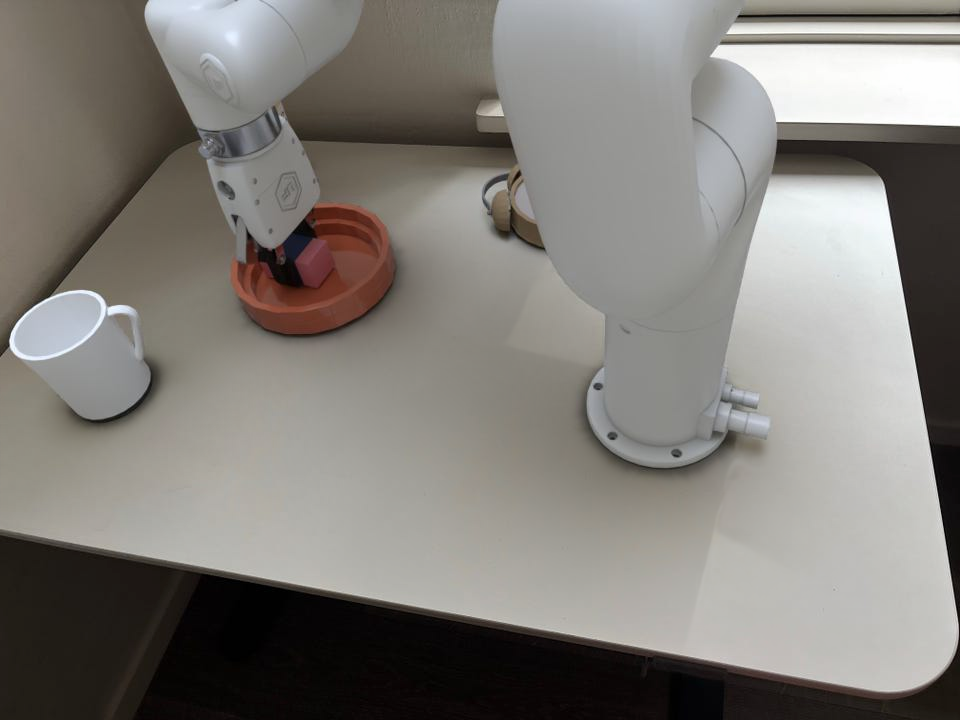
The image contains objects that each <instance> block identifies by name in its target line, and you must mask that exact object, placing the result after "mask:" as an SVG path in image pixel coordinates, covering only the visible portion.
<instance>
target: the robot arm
mask: <svg viewBox="0 0 960 720" xmlns="http://www.w3.org/2000/svg"><path fill="white" fill-rule="evenodd" d="M746 2H747V0H498V2H497V6H496V9H495V14H494V19H493V26H492V34H491V35H492V36H491V61H492V71H493V77H494V82H495V87H496V91H497V96H498V99H499V102H500V106H501V111H502V114H503V117H504V120H505V123H506V128H507V131H508V134H509V137H510V141H511V144H512V147H513V150H514V154H515V157H516V160H517V164H519V167H520V171H521V174H522V177H523V181H524V184H525V187H526V191H527V194H528V197H529V201H530V204H531V207H532V211H533V214H534V217H535V220H536V224H537V227H538V230H539V233H540V236H541V239H542V242H543V244H544V247H543V248H544V249H545V251H546V254H547V256H548V259H549V261H550V262H551V264H552V266H553V267H554V270H555V271H556V272H557V274H558V276H559V277H560V279H562V281H563V282H564V283H565V285H566V286H567V288H569V290H570V291H571V292H572V293H573V294H575V296H576V297H578V298H579V299H580V300H581V301H582V302H584V303H585V304H586V305H588V306H589V307H591V308H593V309H594V310H596V311H597V312H600V313H601V314H604V359H603V361H604V362H603V363H604V364H603V366H602V367H600V369H599V370H598V371H597V372H596V373H595V374H594V376H593V378H592V380H591V382H590V384H589V387H588V390H587V392H586V393H587V394H586V415H587V419H588V423H589V426H590V427H591V430H592V432H593V433H594V435H595V437H596V438H597V439H598V441H600V443H602V445H603V446H604V447H605V448H607V449H608V450H609V451H610V452H612V453H613V454H614V455H616V456H618V457H620V458H622V459H623V460H625V461H628V462H630V463H632V464H636V465H639V466H644V467H649V468H655V469H657V468H658V469H670V468H679V467H685V466H688V465H692V464H694V463H696V462H699V461H701V460H702V459H704V458H706V457H708V456H709V455H711V454H712V453H713V452H714V451H715V450H717V449H718V448H719V447H720V445H721V444H722V443H723V441H724V440H725V438H726V437H727V434H728V432H729V431H734V432H738V433H740V434H743V435H744V436H749V437H752V438H756V439H761V440H764V441H766V440H767V438H768V435H769V432H770V427H771V422H772V416H768V415H763V414H759V413H755V412H751V411H749V412H746V411H743V410H738V409H734V407H733V404H734V405H735V404H736V405H739V406H741V407H744V408H748V409H753V410H758V407H759V403H760V399H761V395H762V394H761V393H758V392H754V391H751V390H743V389H739V388H735V387H733V384H732V383H727V381H726V380H727V376H728V373H729V368H728V367H727V366H724V364H725V360H726V355H727V350H728V346H729V342H730V341H729V340H730V336H731V332H732V328H733V323H734V317H735V313H736V308H737V303H738V300H739V296H740V290H741V287H742V283H743V278H744V273H745V270H746V269H745V268H746V265H747V259H748V255H749V252H750V247H751V244H752V240H753V236H754V233H755V230H756V226H757V224H758V220H759V216H760V213H761V209H762V207H763V203H764V200H765V197H766V193H767V191H768V187H769V184H770V180H771V177H772V172H773V168H774V164H775V159H776V154H777V146H778V126H777V125H778V124H777V118H776V114H775V113H776V112H775V110H774V106H773V104H772V101H771V99H770V97H769V94H768V92H767V90H766V89H765V88H764V86H763V85H762V83H761V82H760V81H759V80H758V78H756V77H755V76H754V75H753V74H752V73H751V72H750V71H749V70H748V69H746V68H744V67H743V66H742V65H740V64H738V63H736V62H733V61H732V60H729V59H725V58H720V57H716V56H715V57H714V56H712V55H713V53H714V52H715V51H716V49H717V48H718V46H719V45H720V44H721V43H722V41H723V39H724V38H725V37H726V35H727V34H728V32H729V30H730V29H731V28H732V27H733V24H734V23H735V21H736V20H737V18H738V16H739V15H740V13H741V12H742V9H743V8H744V6H745V4H746ZM364 3H365V0H148V1H147V2H146V4H145V7H144V13H143V14H144V20H145V25H146V27H147V31H148V32H149V34H150V36H151V39H152V40H153V43H154V45H155V47H156V48H157V51H158V54H159V56H160V57H161V59H162V61H163V64H164V66H165V68H166V69H167V72H168V73H169V76H170V79H171V80H172V82H173V84H174V85H175V88H176V91H177V92H178V94H179V97H180V99H181V101H182V103H183V105H184V107H185V109H186V111H187V113H188V114H189V118H190V120H191V121H192V124H193V126H194V128H195V130H196V131H197V134H198V136H199V139H200V141H201V145H200V146H199V147H198V148H197V151H198V153H199V155H200V156H201V157H202V158H203V159H205V161H206V165H207V169H208V172H209V176H210V180H211V183H212V187H213V190H214V191H215V195H216V199H217V200H218V204H219V205H220V208H221V210H222V213H223V215H224V217H225V219H226V222H227V224H228V226H229V228H230V230H231V231H232V233H233V235H234V236H235V255H236V261H237V262H238V263H241V264H246V265H252V264H257V263H259V262H264V263H267V264H268V266H269V269H270V271H271V273H272V275H273V277H274V279H275V281H276V282H277V283H279V284H282V285H288V286H293V287H297V288H298V287H299V286H300V285H301V280H300V278H299V276H298V273H297V271H296V269H295V267H294V264H293V262H292V259H291V258H290V257H286V256H285V252H284V248H283V244H282V243H283V242H284V241H285V240H286V239H287V237H288V236H289V235H290V234H291V233H294V234H299V235H303V236H308V237H313V238H316V239H318V237H317V235H316V232H315V229H313V227H314V226H315V225H316V219H315V217H314V215H313V211H314V205H315V204H318V201H319V199H320V196H321V188H320V184H319V179H318V178H317V176H316V174H315V172H314V169H313V167H312V166H313V165H312V164H311V162H310V159H309V157H308V155H307V153H306V151H305V149H304V147H303V144H302V143H301V141H300V139H299V137H298V136H297V134H296V132H295V131H294V129H293V128H292V126H291V125H290V122H289V121H288V122H287V121H286V119H285V118H284V117H282V116H280V115H278V112H277V110H276V107H275V105H276V104H277V103H278V102H280V101H281V102H282V101H283V100H284V99H285V98H286V97H288V96H289V95H290V94H291V93H292V92H294V91H295V90H296V89H298V88H299V87H300V86H301V85H302V84H303V83H304V82H306V81H307V80H308V79H309V78H311V77H313V75H315V74H316V73H317V72H318V71H320V70H321V69H322V68H324V67H325V66H326V65H327V64H329V63H330V62H331V61H333V60H334V59H335V58H337V57H338V56H339V55H341V54H342V52H343V51H344V50H345V49H346V48H347V46H348V45H349V44H350V42H351V41H352V39H353V37H354V35H355V33H356V30H357V28H358V26H359V23H360V20H361V15H362V12H363V8H364ZM254 244H255V248H256V249H255V248H254ZM268 248H269V249H272V251H271V250H268Z"/></svg>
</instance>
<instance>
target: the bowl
mask: <svg viewBox="0 0 960 720" xmlns="http://www.w3.org/2000/svg"><path fill="white" fill-rule="evenodd" d="M313 215H314V217H315V219H316V225H315V226H314V227H313V229H315V232H316V235H317V237H318V239H321V240H326V241H327V243H328V246H329V248H330V251H331V254H332V256H333V259H334V262H335V266H334V267H333V269H332V270H331V271H330V273H329V274H328V275H327V277H326V278H325V279H324V280H323V282H322V283H321V284H320V286H319V287H318V288H314V287H310V286H303V285H300V286H299V287H298V288H297V287H293V286H288V285H282V284H279V283H277V282H276V281H275V279H274V278H271V277H267V276H266V274H265V272H264V270H263V268H262V266H261V264H260V262H259V263H257V264H252V265H246V264H241V263H238V262H237V261H236V254H234V257H233V259H232V261H231V263H230V284H231V286H232V288H233V289H234V290H235V293H236V295H237V297H238V298H239V300H240V302H241V305H242V306H243V307H244V310H245V311H246V314H247V315H248V317H249V318H250V319H251V320H252V321H254V322H256V323H257V324H258V325H260V326H261V327H263V328H264V329H266V330H269V331H273V332H276V333H279V334H284V335H313V334H317V333H321V332H326V331H330V330H334V329H337V328H339V327H342V326H343V325H345V324H347V323H349V322H351V321H353V320H355V319H357V318H359V317H361V316H363V315H364V314H365V313H366V312H367V311H369V310H370V309H371V308H372V307H374V306H375V305H376V304H377V303H378V302H380V301H381V299H382V298H383V297H384V295H385V294H386V292H387V291H388V289H389V288H390V286H391V285H392V283H393V279H394V275H395V271H396V267H397V262H396V258H395V254H394V253H395V252H394V250H393V246H392V242H391V238H390V236H389V231H388V228H387V226H386V225H385V224H384V222H383V221H382V220H381V219H380V218H379V217H378V216H377V215H376V214H375V213H373V212H371V211H370V210H367V209H365V208H363V207H361V206H359V205H354V204H349V203H342V202H328V203H325V202H324V203H323V202H322V203H316V204H315V205H314V211H313ZM254 248H255V244H254ZM255 249H256V248H255Z"/></svg>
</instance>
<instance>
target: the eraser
mask: <svg viewBox="0 0 960 720" xmlns="http://www.w3.org/2000/svg"><path fill="white" fill-rule="evenodd" d="M282 244H283V248H284V252H285V256H286V257H290V258H291V259H292V262H293V264H294V267H295V269H296V271H297V273H298V276H299V278H300V280H301V285H303V286H310V287H314V288H318V287H319V286H320V284H321V283H322V282H323V280H324V279H325V278H326V277H327V275H328V274H329V273H330V271H331V270H332V269H333V267H334V266H335V262H334V259H333V256H332V254H331V251H330V248H329V246H328V243H327V241H326V240H321V239H316V238H313V237H308V236H303V235H299V234H294V233H291V234H290V235H289V236H288V237H287V239H286V240H285V241H284V242H283V243H282ZM268 250H271V251H272V249H269V248H268ZM260 264H261V266H262V268H263V270H264V272H265V274H266V276H267V277H271V278H274V277H273V275H272V273H271V271H270V269H269V266H268V264H267V263H264V262H260Z"/></svg>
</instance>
